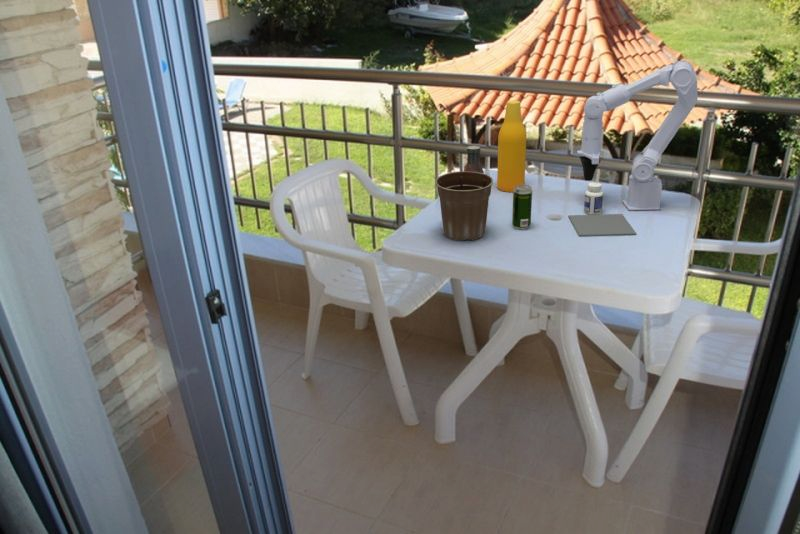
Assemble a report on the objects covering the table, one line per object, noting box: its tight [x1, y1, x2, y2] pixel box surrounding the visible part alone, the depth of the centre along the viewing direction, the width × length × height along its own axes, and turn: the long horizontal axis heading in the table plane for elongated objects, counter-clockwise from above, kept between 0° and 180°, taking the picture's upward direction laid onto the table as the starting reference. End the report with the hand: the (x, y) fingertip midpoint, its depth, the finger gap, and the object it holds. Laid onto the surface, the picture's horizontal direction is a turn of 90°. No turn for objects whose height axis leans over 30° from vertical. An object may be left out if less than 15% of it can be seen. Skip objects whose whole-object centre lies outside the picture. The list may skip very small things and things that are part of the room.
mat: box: [568, 213, 637, 237], centre depth 200 cm, size 16×15×1 cm
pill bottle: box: [583, 181, 604, 215], centre depth 208 cm, size 5×5×9 cm
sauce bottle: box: [463, 145, 485, 174], centre depth 212 cm, size 6×6×20 cm
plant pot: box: [434, 170, 494, 242], centre depth 195 cm, size 16×16×16 cm
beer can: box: [511, 184, 533, 230], centre depth 199 cm, size 5×5×12 cm
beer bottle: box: [496, 100, 527, 193], centre depth 226 cm, size 9×9×29 cm
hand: (588, 179), depth 215 cm, fingers closed
